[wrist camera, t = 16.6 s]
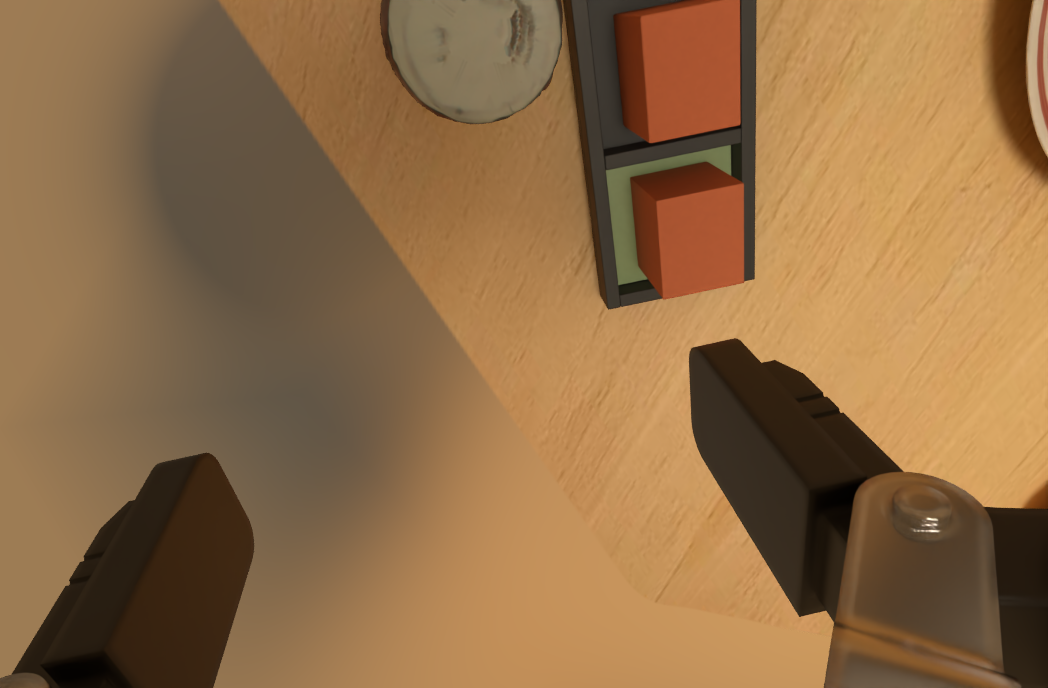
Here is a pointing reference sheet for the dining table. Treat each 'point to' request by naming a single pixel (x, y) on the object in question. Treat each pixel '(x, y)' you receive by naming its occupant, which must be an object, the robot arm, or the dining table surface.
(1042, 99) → the dinner plate
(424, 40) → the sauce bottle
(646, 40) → the orange rectangular block
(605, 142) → the pad holder
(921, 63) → the dining table surface
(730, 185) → the orange block
